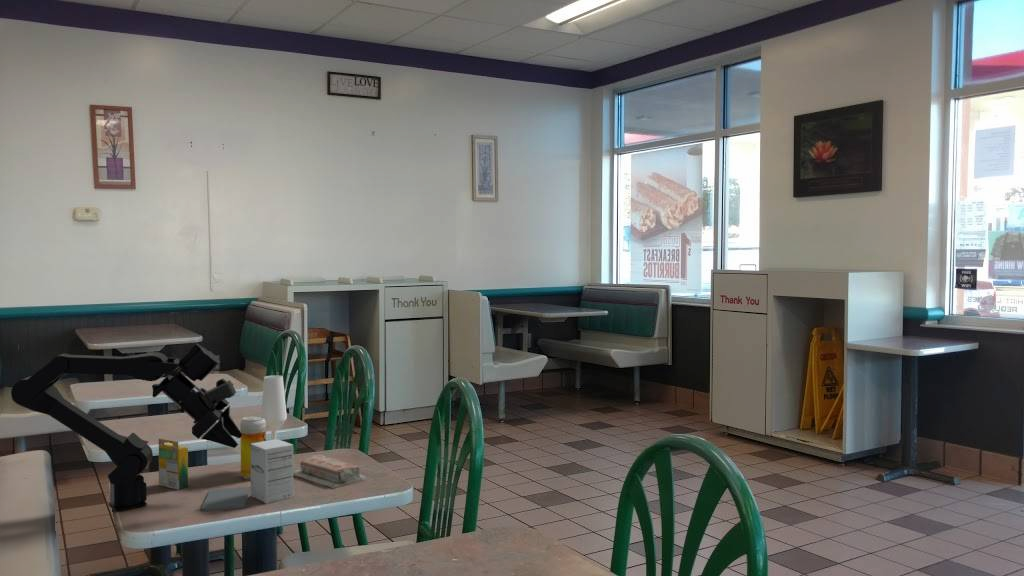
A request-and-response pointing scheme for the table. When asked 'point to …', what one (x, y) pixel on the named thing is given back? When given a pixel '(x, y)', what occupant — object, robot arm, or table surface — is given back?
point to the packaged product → (329, 471)
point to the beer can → (250, 440)
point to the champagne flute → (273, 403)
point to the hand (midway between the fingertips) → (238, 441)
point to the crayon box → (173, 465)
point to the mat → (226, 498)
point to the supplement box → (271, 470)
